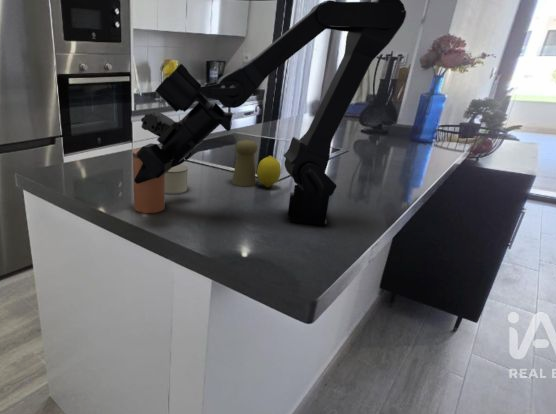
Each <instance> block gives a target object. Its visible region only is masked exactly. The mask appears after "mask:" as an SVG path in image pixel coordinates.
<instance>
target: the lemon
mask: <svg viewBox="0 0 556 414" xmlns="http://www.w3.org/2000/svg"><path fill="white" fill-rule="evenodd" d="M256 169H257V170H256V176H257V177H256V178H257V179H258V181H259V182H260V183H261V184H262V185H264V186H265V187H266V188H269V187H270V186H272V185H274V184H276V183H277V182H279V180H280V177H281V174H282V173H281V172H282V169H281V164H280V162H279V160H278V159H277V158H275V157H273V156H272V155H268V156H266V157H264V158H263V159H261V160H260V161H259V163H258V166H257V168H256Z"/></svg>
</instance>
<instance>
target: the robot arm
mask: <svg viewBox="0 0 556 414" xmlns="http://www.w3.org/2000/svg"><path fill="white" fill-rule="evenodd" d="M406 17H407V11H406V8H405V5H404V3H403V1H402V0H372V1H335V0H324V1H322V2H320V3H318V4H316V5H314V6H313V7H312V8H311V9H310V11H309V12H307V14H305V15H304V16H303V17H302V18H301V19H299V21H297V22H296V23H295V24H294V25H292V26H291V27H290V28H289V29H288V30H286V31H285V32H284V33H283V34H281V35H280V36H279V37H277V38H276V39H275V40H274V41H273V42H272V43H270V44H269V45H268V46H267V47H266V48H264V49H263V50H262V51H261V52H260V53H258V54H257V55H256V56H254V57H253V58H251V59H250V60H248V61H246V62H245V63H243V64H241V65H239V66H237V67H235V68H234V69H232V70H230V71H228V72H227V73H225V74H224V75H222V76H221V77H220V78H219V79H217V81H214V82H208V83H207V82H205V83H202V84H201V83H200V82H199V81H198V80H197V79H196V78H195V77H194V75H192V74H191V73H190V71H189V70H188V68H187V67H186V65H184V64H183V63H180V64H179V65H178V66H177V67H176V68H175V69H174V70H173V71H172V72H171V74H170V75H167V77H166V78H164V79H163V81H162V82H161V83H160V84H159V85H158V86H157V88H156V89H155V90H154V92H155V93H156V95H158V96H159V97H160V98H161V99H162V100H163V101H165V103H166V104H167V105H168V106H169V107H170V108H171V109H173V111H174V112H175V113H177V112H178V111H179V110H180V111H181V112H184V113H186V112H187V110H188V109H190V108H191V106H192V105H193V104H194V103H195V102H196V101H197V103H196V104H195V105H194V107H192V108H191V109H190V111H189V112H187V113H186V114H185V115H184V116H183V117H182V119H180V120H179V121H175V120H174V119H172V118H171V117H169V116H168V115H166V114H164V113H161V111H158V110H150V111H147V112H146V113H145V114H144V116H143V117H141V119H140V120H141V126H140V127H141V129H143V130H144V131H148V132H150V133H151V134H153V135H155V136H156V137H158V138H157V139H156V141H157V142H158V143H159V144H160V145H161V146H159V145H158V143H151V142H150V143H148V144H145V145H143V146H141V149H140V148H139V149H140V150H139V151H138V152H137V153H136V154H137V157H138V158H139V159H140V160H141V161H142V162H143V164H142V166H141V168H140V170H139V172H138V173H137V175H136V177H135V179H134V180H133V182H134V181H135V182H136V183H137V184H139V183H142V182H145V181H148V180H151V179H154V178H159V177H161V176H163V175H164V174H166V172H168V171H169V170H170V169H171V168H172V167H175V166H177V165H183V163H184V162H186V161H188V160H190V159H191V158H192V157H193V156H195V154H196V153H197V146H199V145H201V144H202V143H203V142H204V141H205V139H206V138H207V137H208V136H209V135H210V134H212V133H213V132H214V131H215V130H216V129H217V128H218V127H219V126H221V127H222V128H223V129H225V130H226V131H227V132H229V131H231V129H232V125H233V121H232V120H233V116H234V113H233V112H226V111H224V109H223V108H222V107H221V106H220V105H219V104H218V103H216V102H213V103H211V102H210V100H208V99H211V100H215V101H216V100H217V101H218V102H219V103H221V105H222V106H223V107H226V108H230V109H236V108H239V107H241V106H242V105H244V104H245V103H246V102H247V101H248V100H249V99H250V98H251V96H253V94H254V93H255V92H256V91H257V90H258V89H259V87H260V86H261V85H262V83H263V82H264V81H265V80H266V79H267V78H268V77H269V75H270V74H272V73H273V72H274V71H275V70H277V69H278V68H279V67H280V66H282V65H283V64H284V63H286V61H288V60H289V59H290V58H291V57H293V56H294V55H296V54H297V53H298V52H299V51H300V50H302V49H303V48H304V47H305V46H306V45H308V44H309V43H310V42H311V41H313V40H314V39H315V38H317V37H318V36H319V35H321V33H323V32H324V31H325V30H329V31H330V30H331V31H337V32H347V33H346V37H345V46H344V54H343V57H342V59H341V61H340V63H339V65H338V67H337V69H336V71H335V73H334V75H333V78H332V80H331V82H330V84H329V86H328V88H327V90H326V92H325V94H324V96H323V98H322V101H321V103H320V104H319V106H318V109H317V110H316V113H315V115H314V117H313V119H312V122H311V123H310V125H309V128H308V129H307V131H306V132H305V134H303V136H302V137H300V138H297V137H295V136H293V137H292V138H291V140H290V143H289V147H288V149H287V151H286V152H285V153H284V154H283V157H284V158H285V160H284V168H285V170H286V172H287V173H288V175H289V176H290V177H291V178H292V179H293V182H294V183H295V184H294V187H293V191H291V192H290V193H289V200H288V209H287V215H288V216H289V222H291V223H298V224H307V225H315V226H327V224H328V222H327V215H328V208H329V203H330V202H329V201H330V197H332V195H333V194H334V192H335V191H336V188H338V187H337V184H336V183H335V182H334V181H333V180H332V179H331V178H330V176H328V175H327V174H326V170H327V169H328V168H327V167H328V164H329V161H330V157H331V149H332V141H333V139H334V137H335V135H336V134H337V132H338V130H339V127H340V125H341V123H342V121H343V119H344V117H345V116H346V113H347V111H348V109H349V107H350V105H351V103H352V101H353V99H354V98H355V96H356V94H357V92H358V90H359V88H360V86H361V85H362V84H361V83H362V82H363V80H364V78H365V77H366V74H367V72H368V70H369V68H370V66H371V65H372V62H373V61H374V60H375V59H376V58H377V57H378V55H379V54H381V53H382V52H383V50H384V49H385V48H387V46H388V45H389V44H390V43H391V41H393V39H394V38H395V36H396V35H397V33H398V32H399V30H400V29H401V27H402V26H403V25H404V22H405V21H406ZM201 93H202V94H201ZM203 95H204V96H203ZM205 97H206V98H205Z"/></svg>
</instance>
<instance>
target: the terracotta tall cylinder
mask: <svg viewBox="0 0 556 414" xmlns="http://www.w3.org/2000/svg"><path fill="white" fill-rule="evenodd" d="M141 148H142V147H141ZM141 148H136V149H134V150H132V177H133V209H134V210H135V211H137V212H138V213H143V214H154V213H159V212H162V211H164V210H165V205H166V203H165V202H166V201H165V200H166V199H165V198H166V197H165V194H166V193H165V174H164V175H163V176H161V177H159V178H154V179H151V180H148V181H145V182H142V183H139V184H137V183H136V182H135V181H134V179H135V177H136V175H137V173H138V172H139V170H140V168H141V166H142V164H143V162H142V161H141V160H140V159H139V158H138V157H137V154H136V153H137V152H138V151H139V150H140V149H141Z"/></svg>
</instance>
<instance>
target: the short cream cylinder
mask: <svg viewBox="0 0 556 414" xmlns="http://www.w3.org/2000/svg"><path fill="white" fill-rule="evenodd" d="M188 170H189V167H188V166H187V165H183V164H180V165H177V166H175V167H172V168H171V169H170V170H169V171H168V172H166V174H165V194H169V195H170V194H171V195H176V194H177V195H178V194H183V193H185V192H187V190H188V172H189V171H188Z"/></svg>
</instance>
